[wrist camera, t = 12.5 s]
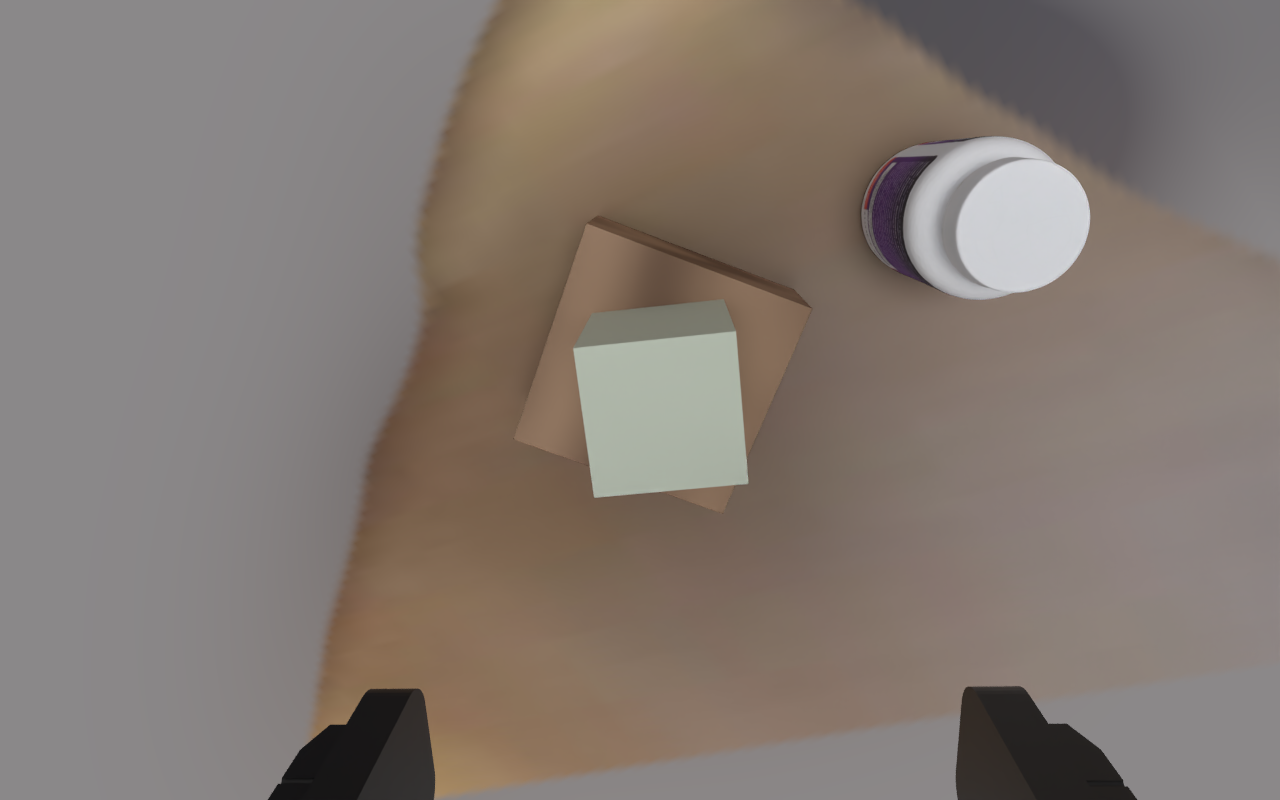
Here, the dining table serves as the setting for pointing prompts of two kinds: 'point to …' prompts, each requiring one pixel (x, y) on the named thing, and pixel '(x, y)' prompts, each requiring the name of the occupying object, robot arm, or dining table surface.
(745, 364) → the walnut block
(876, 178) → the pill bottle
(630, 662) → the dining table surface
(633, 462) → the sage cube
